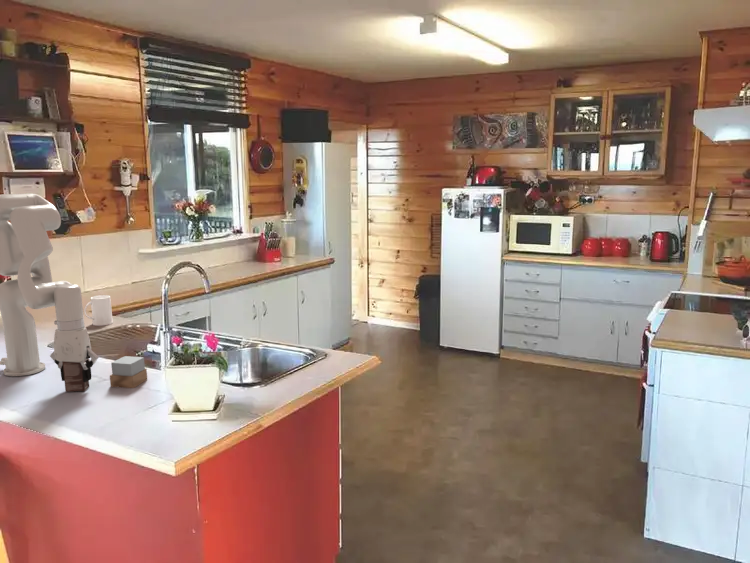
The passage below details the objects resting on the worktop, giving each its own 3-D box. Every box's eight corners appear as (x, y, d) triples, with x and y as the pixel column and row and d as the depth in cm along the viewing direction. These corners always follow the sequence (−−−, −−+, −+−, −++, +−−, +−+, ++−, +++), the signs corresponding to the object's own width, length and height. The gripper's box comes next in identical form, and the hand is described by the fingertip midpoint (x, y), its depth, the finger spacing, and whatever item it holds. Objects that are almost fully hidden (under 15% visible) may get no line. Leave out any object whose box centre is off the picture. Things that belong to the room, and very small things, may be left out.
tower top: (112, 374, 200) (111, 362, 199) (126, 367, 206) (125, 356, 206) (131, 376, 198) (130, 364, 197) (144, 369, 205) (143, 357, 204)
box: (89, 386, 200) (86, 350, 198) (84, 391, 196) (81, 354, 193) (70, 387, 200) (66, 350, 197) (64, 392, 195) (60, 355, 193)
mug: (89, 328, 272) (86, 301, 269) (81, 324, 278) (79, 298, 275) (116, 323, 280) (114, 296, 277) (108, 319, 286) (106, 294, 283)
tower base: (110, 387, 200) (109, 375, 199) (125, 379, 208) (124, 367, 207) (133, 388, 198) (132, 376, 198) (147, 380, 206) (146, 368, 205)
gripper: (37, 326, 192) (43, 382, 195) (88, 328, 188) (94, 385, 192) (53, 320, 199) (59, 374, 202) (103, 322, 196) (109, 377, 199)
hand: (76, 379), depth 197 cm, fingers closed on box, 6 cm apart
